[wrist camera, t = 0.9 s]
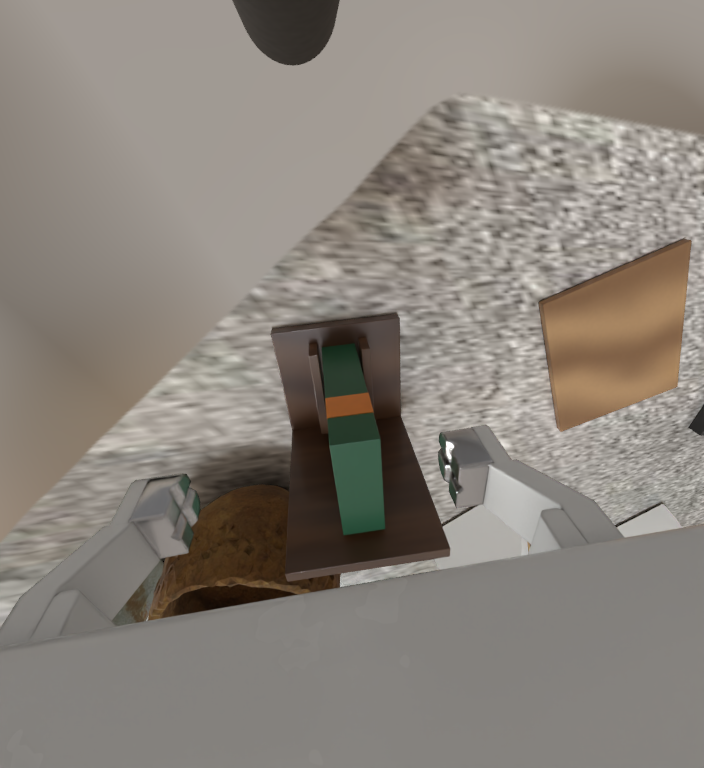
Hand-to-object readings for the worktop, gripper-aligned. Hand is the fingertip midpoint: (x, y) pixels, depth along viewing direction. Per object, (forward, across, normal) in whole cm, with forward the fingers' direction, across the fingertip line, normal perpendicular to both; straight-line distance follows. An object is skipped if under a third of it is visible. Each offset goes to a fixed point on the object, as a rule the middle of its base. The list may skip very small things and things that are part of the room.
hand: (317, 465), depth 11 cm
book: (+22, -2, +12) cm, 25 cm away
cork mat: (+23, -31, +13) cm, 41 cm away
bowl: (+23, +11, +29) cm, 39 cm away
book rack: (+23, -2, +12) cm, 26 cm away
